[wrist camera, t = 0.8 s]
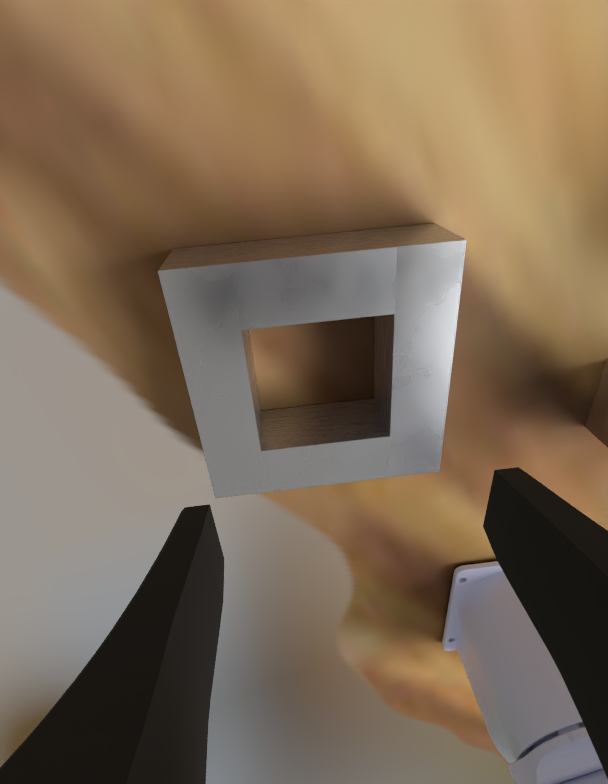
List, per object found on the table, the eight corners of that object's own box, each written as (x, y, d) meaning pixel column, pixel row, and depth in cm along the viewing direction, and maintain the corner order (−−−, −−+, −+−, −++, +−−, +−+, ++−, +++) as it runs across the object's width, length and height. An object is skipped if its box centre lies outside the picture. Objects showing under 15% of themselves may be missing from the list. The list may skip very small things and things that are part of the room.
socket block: (418, 431, 22) (439, 471, 19) (220, 454, 21) (215, 498, 19) (434, 222, 17) (466, 239, 14) (173, 248, 16) (157, 270, 14)
